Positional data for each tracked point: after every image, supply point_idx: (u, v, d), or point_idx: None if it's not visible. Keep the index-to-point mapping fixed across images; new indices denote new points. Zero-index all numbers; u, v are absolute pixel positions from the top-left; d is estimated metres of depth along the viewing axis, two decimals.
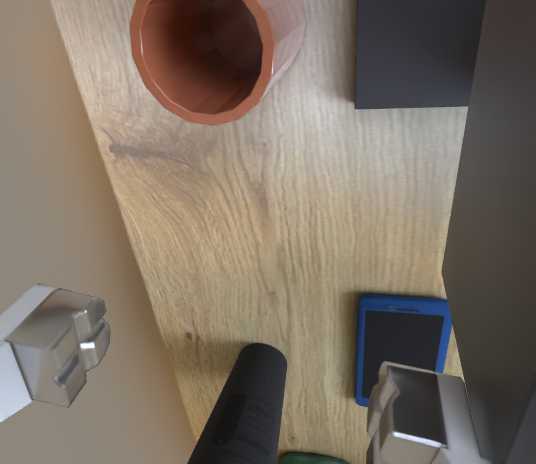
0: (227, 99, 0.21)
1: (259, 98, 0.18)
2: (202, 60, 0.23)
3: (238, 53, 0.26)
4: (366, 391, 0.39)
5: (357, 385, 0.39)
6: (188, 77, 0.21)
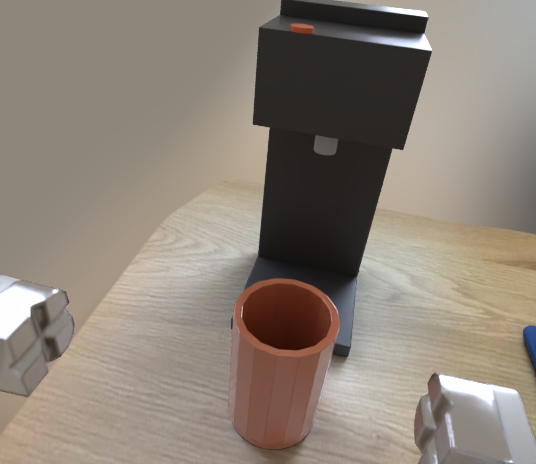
0: None
1: (325, 295, 0.26)
2: None
3: None
4: None
5: None
6: None
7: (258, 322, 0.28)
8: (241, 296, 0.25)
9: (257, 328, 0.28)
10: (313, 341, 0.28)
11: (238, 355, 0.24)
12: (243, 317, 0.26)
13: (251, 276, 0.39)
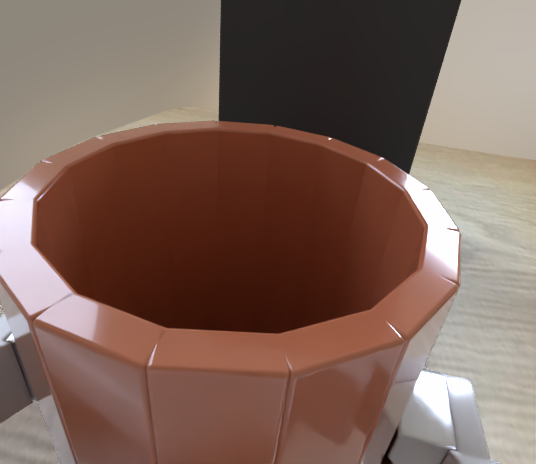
0: None
1: (376, 156, 0.08)
2: None
3: None
4: None
5: None
6: None
7: (170, 270, 0.10)
8: (76, 148, 0.07)
9: (171, 288, 0.10)
10: None
11: (26, 368, 0.06)
12: (91, 231, 0.07)
13: None
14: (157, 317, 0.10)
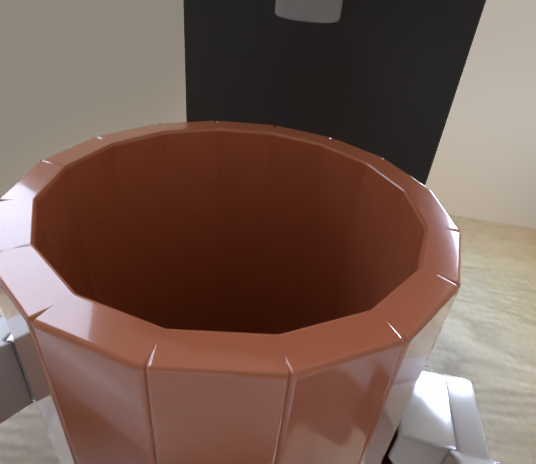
0: None
1: (376, 156, 0.08)
2: None
3: None
4: None
5: None
6: None
7: (170, 271, 0.10)
8: (76, 148, 0.07)
9: (171, 288, 0.10)
10: None
11: None
12: (91, 232, 0.07)
13: None
14: (157, 317, 0.10)
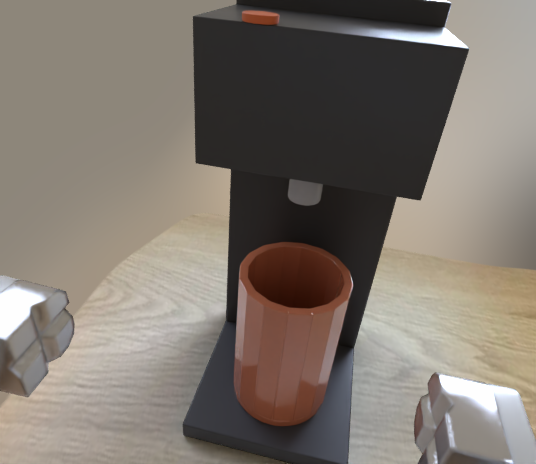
0: None
1: (335, 256, 0.24)
2: None
3: None
4: None
5: None
6: None
7: (263, 291, 0.26)
8: (247, 258, 0.24)
9: None
10: None
11: (245, 319, 0.22)
12: None
13: (215, 352, 0.30)
14: None
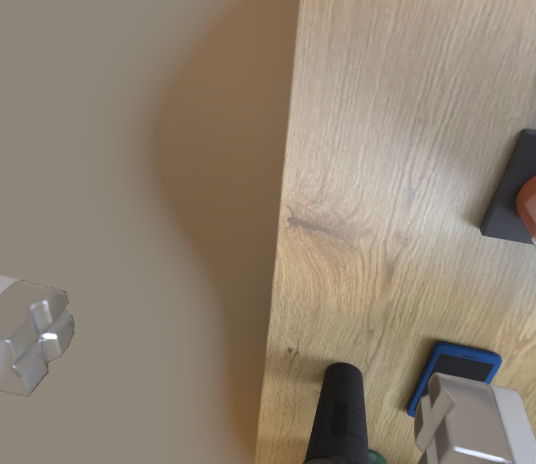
0: None
1: None
2: None
3: None
4: None
5: (413, 401, 0.53)
6: None
7: None
8: None
9: None
10: None
11: None
12: None
13: None
14: None
